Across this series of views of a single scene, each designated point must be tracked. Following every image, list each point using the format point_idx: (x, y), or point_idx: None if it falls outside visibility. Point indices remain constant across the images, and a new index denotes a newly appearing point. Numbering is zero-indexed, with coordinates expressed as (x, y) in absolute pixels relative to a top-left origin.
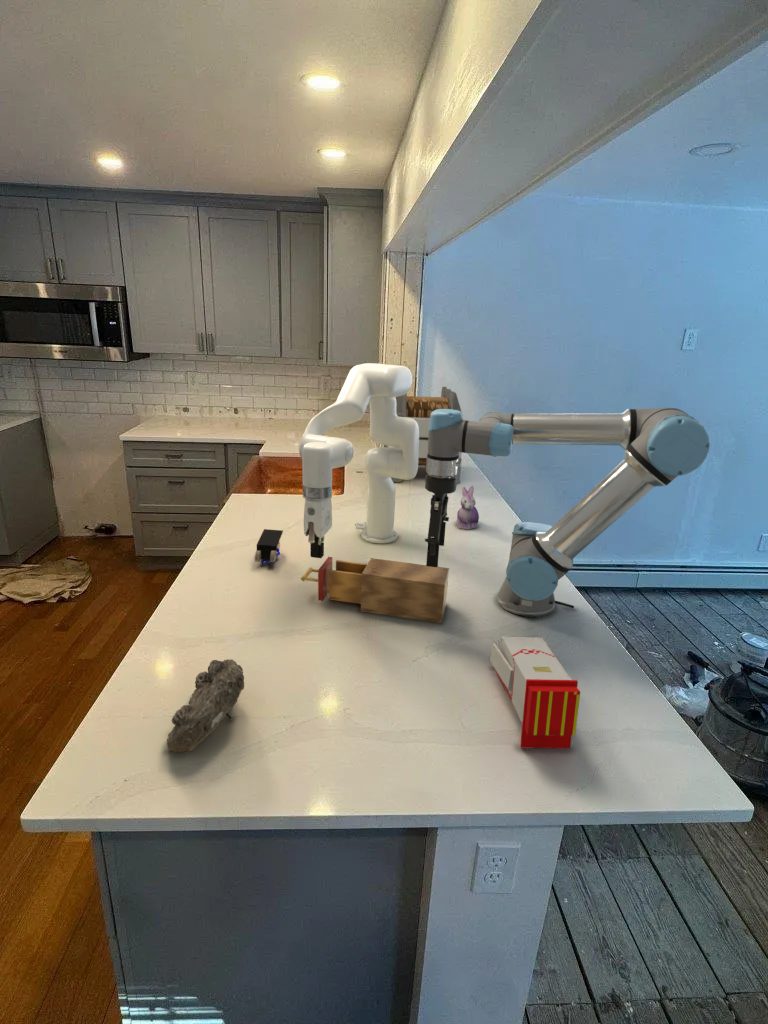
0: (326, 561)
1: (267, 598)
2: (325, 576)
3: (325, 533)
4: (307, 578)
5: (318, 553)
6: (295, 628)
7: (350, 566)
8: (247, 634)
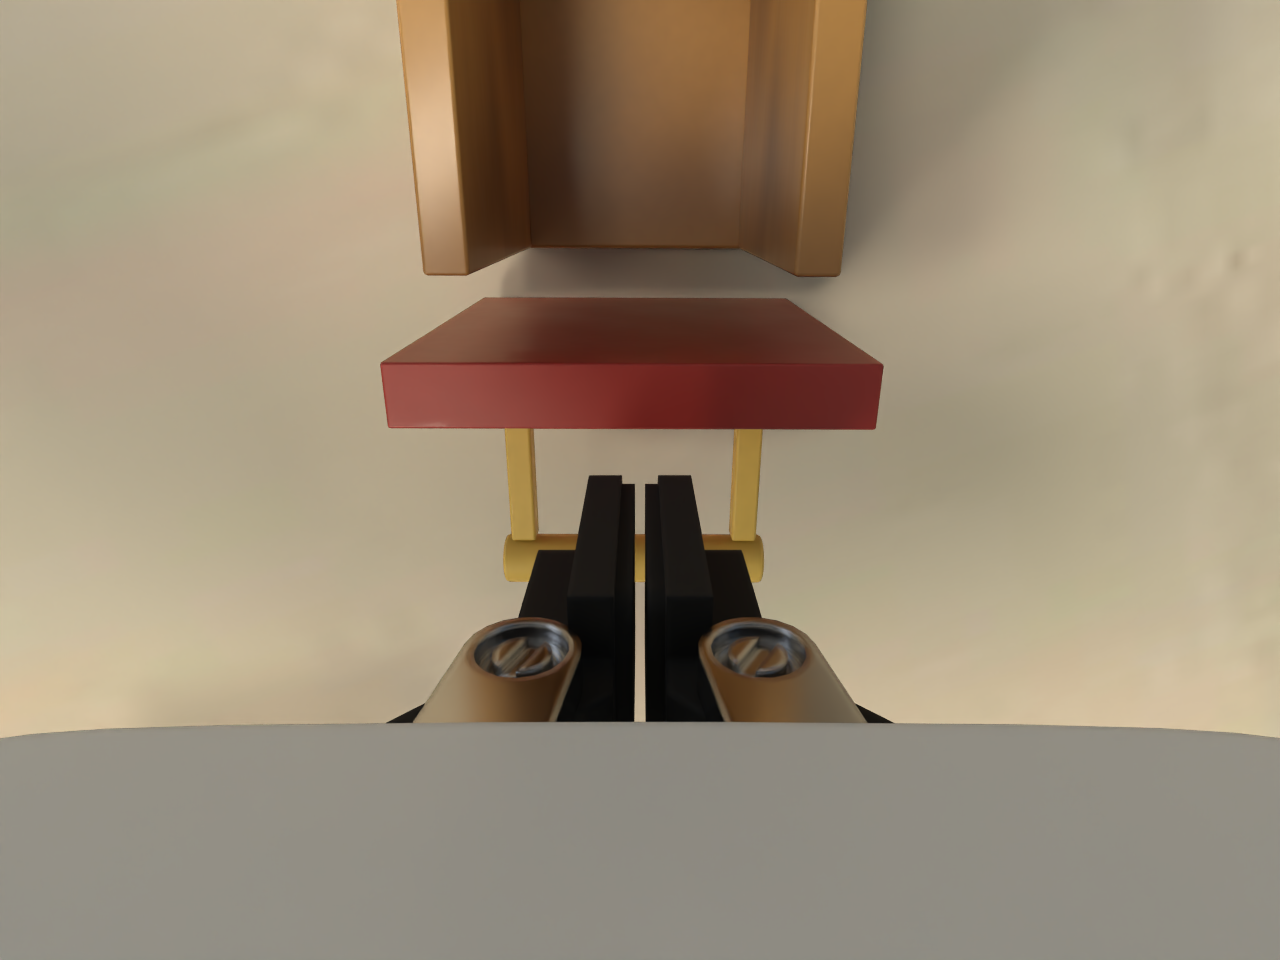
0: (566, 403)
1: None
2: (720, 334)
3: (965, 748)
4: (754, 521)
5: (734, 559)
6: (1192, 380)
7: (464, 5)
8: (1274, 650)
